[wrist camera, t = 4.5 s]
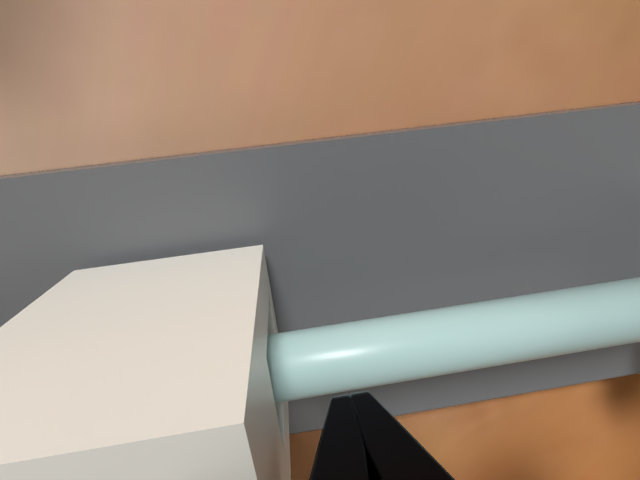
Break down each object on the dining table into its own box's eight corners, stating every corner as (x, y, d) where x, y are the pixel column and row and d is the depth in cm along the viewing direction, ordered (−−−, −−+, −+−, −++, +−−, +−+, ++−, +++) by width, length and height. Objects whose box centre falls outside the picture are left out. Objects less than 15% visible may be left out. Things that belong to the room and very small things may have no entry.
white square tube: (263, 244, 10) (243, 422, 4) (287, 388, 11) (297, 652, 6) (73, 270, 9) (-229, 504, 4) (128, 414, 11) (-24, 722, 5)
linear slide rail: (728, 90, 11) (1169, 68, 6) (658, 349, 15) (890, 493, 9) (-151, 193, 10) (-766, 307, 4) (2, 461, 13) (-208, 727, 7)
